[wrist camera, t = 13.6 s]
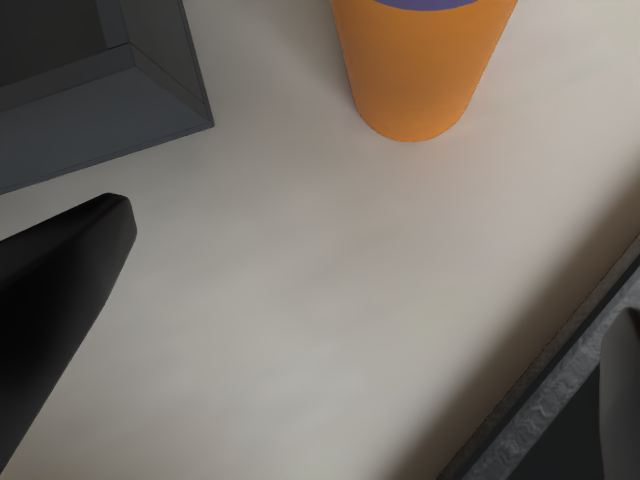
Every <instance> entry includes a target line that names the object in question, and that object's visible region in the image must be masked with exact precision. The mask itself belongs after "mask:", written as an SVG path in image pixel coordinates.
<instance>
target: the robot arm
mask: <svg viewBox="0 0 640 480" xmlns="http://www.w3.org/2000/svg"><path fill="white" fill-rule="evenodd" d="M136 235H137V227H136V223H135V219H134V215H133V210H132V206H131V203H130V200H129V199H128V198H127V197H125V196H122V195H118V194H113V193H104V194H102V195H100V196H97V197H95V198H93V199H91V200H89V201H87V202H84V203H82V204H80V205H78V206H76V207H73V208H71V209H69V210H67V211H65V212H63V213H60V214H58V215H56V216H54V217H52V218H50V219H47V220H45V221H43V222H41V223H39V224H36V225H34V226H32V227H30V228H28V229H26V230H23V231H21V232H19V233H17V234H15V235H12V236H10V237H8V238H6V239H4V240H2V241H0V475H1V473H2V471H3V470H4V468H5V467H6V465H7V463H8V462H9V460H10V458H11V457H12V455H13V453H14V452H15V450H16V449H17V447H18V445H19V444H20V442H21V440H22V439H23V437H24V436H25V434H26V432H27V431H28V429H29V427H30V426H31V424H32V423H33V421H34V419H35V418H36V416H37V414H38V413H39V411H40V410H41V408H42V406H43V405H44V403H45V401H46V400H47V398H48V397H49V395H50V393H51V392H52V390H53V388H54V387H55V385H56V384H57V382H58V380H59V379H60V377H61V375H62V374H63V372H64V371H65V369H66V367H67V366H68V364H69V362H70V361H71V359H72V357H73V356H74V354H75V353H76V351H77V349H78V348H79V346H80V344H81V343H82V341H83V340H84V338H85V336H86V335H87V333H88V331H89V330H90V328H91V327H92V325H93V323H94V322H95V320H96V318H97V317H98V315H99V313H100V312H101V310H102V308H103V307H104V305H105V303H106V301H107V299H108V297H109V295H110V293H111V291H112V289H113V287H114V284H115V282H116V280H117V278H118V276H119V274H120V272H121V269H122V267H123V265H124V263H125V261H126V259H127V257H128V254H129V252H130V250H131V248H132V246H133V244H134V242H135V239H136ZM599 437H600V448H601V457H602V467H603V476H604V480H640V308H638V307H633V306H626V307H624V308H622V310H621V311H620V312H619V313H618V315H617V316H616V318H615V319H614V320H613V322H612V323H611V325H610V326H609V327H608V329H607V330H606V332H605V333H604V335H603V337H602V340H601V345H600V379H599Z"/></svg>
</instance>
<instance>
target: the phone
mask: <svg viewBox="0 0 640 480" xmlns="http://www.w3.org/2000/svg"><path fill="white" fill-rule="evenodd" d="M626 306H633V307H638V308H640V234H639V236H638V237H637V238H636V239H635V240H634V242H633V243H632V244H631V245H630V246H629V248H628V249H627V250H626V251H625V252H624V254H623V255H622V256H621V257H620V258H619V260H618V261H617V262H616V263H615V264H614V266H613V267H612V268H611V269H610V271H609V272H608V273H607V274H606V275H605V277H604V278H603V279H602V280H601V281H600V283H599V284H598V285H597V286H596V287H595V289H594V290H593V291H592V292H591V293H590V295H589V296H588V297H587V298H586V299H585V301H584V302H583V303H582V304H581V305H580V307H579V308H578V309H577V310H576V311H575V313H574V314H573V315H572V316H571V317H570V319H569V320H568V321H567V322H566V323H565V325H564V326H563V327H562V328H561V329H560V331H559V332H558V333H557V334H556V335H555V337H554V338H553V339H552V340H551V342H550V343H549V344H548V345H547V346H546V348H545V349H544V350H543V351H542V352H541V354H540V355H539V356H538V357H537V358H536V360H535V361H534V362H533V363H532V364H531V366H530V367H529V368H528V369H527V370H526V372H525V373H524V374H523V375H522V376H521V378H520V379H519V380H518V381H517V382H516V384H515V385H514V386H513V387H512V388H511V390H510V391H509V392H508V393H507V394H506V396H505V397H504V398H503V399H502V400H501V402H500V403H499V404H498V405H497V406H496V408H495V409H494V410H493V411H492V412H491V414H490V415H489V416H488V417H487V419H486V420H485V421H484V422H483V423H482V425H481V426H480V427H479V428H478V429H477V431H476V432H475V433H474V434H473V435H472V437H471V438H470V439H469V440H468V441H467V443H466V444H465V445H464V446H463V447H462V449H461V450H460V451H459V452H458V453H457V455H456V456H455V457H454V458H453V459H452V461H451V462H450V463H449V464H448V465H447V467H446V468H445V469H444V470H443V471H442V473H441V474H440V475H439V476H438V477H437V479H436V480H604V476H603V467H602V457H601V448H600V437H599V379H600V345H601V340H602V337H603V335H604V333H605V332H606V330H607V329H608V327H609V326H610V325H611V323H612V322H613V320H614V319H615V318H616V316H617V315H618V313H619V312H620V311H621V310H622V308H624V307H626Z"/></svg>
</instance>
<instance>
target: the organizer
mask: <svg viewBox="0 0 640 480" xmlns="http://www.w3.org/2000/svg"><path fill="white" fill-rule="evenodd" d="M211 127H214V121H213V117H212V113H211V109H210V106H209V102H208V98H207V94H206V90H205V87H204V83H203V79H202V75H201V71H200V68H199V64H198V60H197V56H196V52H195V49H194V45H193V41H192V37H191V33H190V30H189V26H188V22H187V18H186V14H185V11H184V7H183V3H182V0H0V195H2V194H5V193H8V192H11V191H14V190H17V189H20V188H24V187H27V186H30V185H33V184H36V183H39V182H42V181H45V180H49V179H52V178H55V177H58V176H61V175H64V174H67V173H71V172H74V171H77V170H80V169H83V168H86V167H89V166H92V165H96V164H99V163H102V162H105V161H108V160H111V159H114V158H117V157H121V156H124V155H127V154H130V153H133V152H136V151H139V150H143V149H146V148H149V147H152V146H155V145H158V144H161V143H164V142H168V141H171V140H174V139H177V138H180V137H183V136H186V135H189V134H193V133H196V132H199V131H202V130H205V129H208V128H211Z"/></svg>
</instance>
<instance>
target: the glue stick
mask: <svg viewBox="0 0 640 480" xmlns="http://www.w3.org/2000/svg"><path fill="white" fill-rule="evenodd" d="M330 1H331V5H332V10H333V14H334V18H335V22H336V26H337V31H338V35H339V39H340V43H341V47H342V52H343V56H344V60H345V64H346V68H347V73H348V77H349V81H350V85H351V89H352V93H353V98H354V102H355V105H356V107H357V110H358V111H359V113H360V115H361V117H362V118H363V119H364V121H365V122H366V123H367V124H368V125H369V126H370V127H371V128H372V129H373V130H375V131H376V132H377V133H379V134H381V135H383V136H385V137H387V138H390V139H393V140H396V141H402V142H418V141H424V140H428V139H431V138H433V137H436V136H438V135H440V134H442V133H443V132H445V131H446V130H448V129H449V128H450V127H452V126H453V125H454V124H455V123H456V122H457V121H458V119H459V118H460V117H461V116H462V114H463V113H464V111H465V109H466V107H467V105H468V103H469V101H470V99H471V97H472V95H473V93H474V91H475V89H476V87H477V84H478V82H479V80H480V78H481V76H482V74H483V72H484V70H485V68H486V66H487V64H488V61H489V59H490V57H491V55H492V53H493V51H494V49H495V47H496V45H497V43H498V41H499V39H500V36H501V34H502V32H503V30H504V28H505V26H506V24H507V22H508V20H509V18H510V16H511V14H512V11H513V9H514V7H515V5H516V3H517V1H518V0H330Z"/></svg>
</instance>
